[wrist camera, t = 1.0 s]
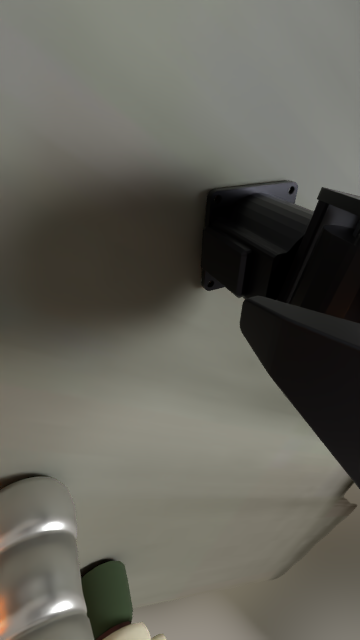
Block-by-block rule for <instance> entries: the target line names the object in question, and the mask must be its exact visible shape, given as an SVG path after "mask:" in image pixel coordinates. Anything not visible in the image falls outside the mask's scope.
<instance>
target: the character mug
mask: <svg viewBox="0 0 360 640" xmlns="http://www.w3.org/2000/svg"><path fill="white" fill-rule="evenodd" d="M81 583H82V591H83V596H84V600H85V604H86V608H87V613H86V614H87V617H88V618H89V620H90V624H91V628H92V632H93V636H94V640H166V638H165V636H164V635H163V634H158V635H156V636H155V637H153V638H151V637H150V633H149V631H148V629H147V627H146V626H145V624H144V623H142V622H140V623H133V624H131V620H132V612H133V608H132V603H131V597H130V591H129V585H128V579H127V575H126V570H125V565H124V564H123V563H121V562H120V561H109V562H106V563H104V564H101V565H98V566H97V567H95V568H94V569H93V570H91V571H90V572H88V573H87V574H86V575H85V576H84V577H82V578H81Z"/></svg>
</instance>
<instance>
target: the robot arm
mask: <svg viewBox="0 0 360 640" xmlns="http://www.w3.org/2000/svg"><path fill="white" fill-rule="evenodd" d="M289 188H290V191H289ZM297 190H298V185H297V183H296V182H293V181H281V182H272V183H263V184H254V185H245V186H236V187H227V188H218V189H213V190H211V191H210V192H209V194H208V196H207V204H206V220H205V228H204V230H203V243H202V259H201V267H202V281H201V284H202V286H203V288H204V289H206V290H207V291H211V290H215V289H219V288H223V287H226V288H227V289H228V290H229V291H231V292H232V293H233V294H234V295H235V296H237V297H238V298H240V297H243V298H244V299H245V300H244V302H243V305H242V312H241V318H240V329H241V332H242V333H243V335H244V337H245V338H246V340H247V341H248V343H249V344H250V346H251V348H252V349H253V351H254V352H255V354H256V355H257V357H258V359H259V360H260V362H261V363H262V365H263V366H264V368H265V369H266V371H267V372H268V374H269V375H270V377H271V378H272V379H273V381H274V382H275V383H276V384H277V386H278V387H279V388H280V389H281V391H282V392H283V394H284V395H285V396H286V397H287V398H288V399H289V401H290V402H291V403H292V404H293V406H294V407H295V408H296V410H297V411H298V412H299V413H300V415H301V416H302V417H303V418H304V420H305V421H306V422H307V423H308V425H309V426H310V427H311V428H312V430H313V431H314V432H315V433H316V435H317V436H318V437H319V438H320V440H321V441H322V442H323V443H324V445H325V446H326V447H327V448H328V450H329V451H330V452H331V454H332V455H333V456H334V457H335V459H336V460H337V461H338V462H339V464H340V465H341V466H342V467H343V469H344V470H345V471H346V472H347V474H348V475H349V476H350V477H351V479H352V480H353V481H354V482H355V484H356V485H357V486H358V487H359V489H360V196H356V195H352V194H348V193H344V192H340V191H336V190H332V189H328V188H324V187H322V188H321V191H320V193H319V195H318V198H317V199H318V200H319V201H318V203H317V206H316V208H315V210H314V211H311V210H309V209H306V208H304V207H301V206H298V205H296V204H295V199H296V194H297ZM288 191H289V192H288ZM217 195H218V199H217V201H216V202H214V199H215V197H216V196H217ZM209 281H211V282H210V284H208V283H209Z"/></svg>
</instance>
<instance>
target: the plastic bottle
mask: <svg viewBox="0 0 360 640" xmlns="http://www.w3.org/2000/svg"><path fill="white" fill-rule="evenodd" d="M76 540H77V517H76V507H75V503H74V501H73V498H72V496H71V494H70V492H69V490H68V488H67V487H66V486H65V485H64V484H62V483H61V482H59V481H58V480H57V479H54V478H52V477H42V476H39V477H31V478H27V479H23V480H20V481H17V482H14V483H12V484H10V485H8V486H6V487H4V488H2V489H1V490H0V640H94V636H93V632H92V628H91V624H90V620H89V618H88V617H87V614H86V613H87V608H86V604H85V600H84V596H83V591H82V583H81V575H80V566H79V558H78V550H77V542H76Z"/></svg>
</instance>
